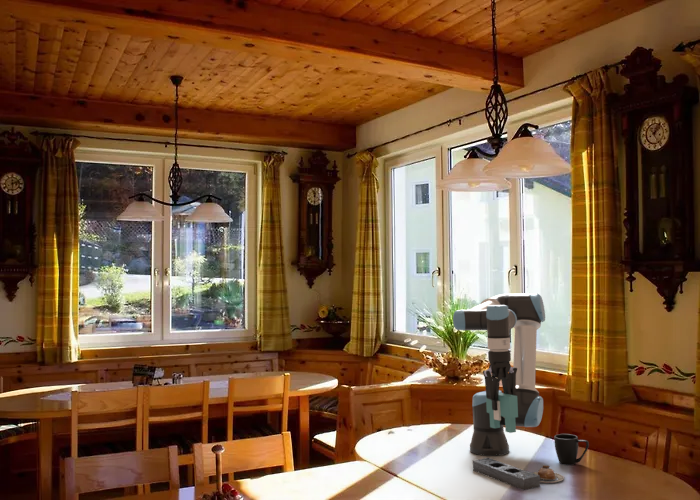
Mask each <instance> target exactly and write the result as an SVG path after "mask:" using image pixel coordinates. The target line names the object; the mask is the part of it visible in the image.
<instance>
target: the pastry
mask: <svg viewBox="0 0 700 500" xmlns="http://www.w3.org/2000/svg"><path fill="white" fill-rule="evenodd" d="M532 473H534V474H537V475H539V476H540V483H544V484H553V483H558V482H561V481H563V480H565V476H564V475H562V474H561V473H558V472H555V471H554V470H553V469H552V468H550V465H545V464H544V465H543V464H542V465H541V467H540V468H539V469H538V471H534V472H533V471H532ZM556 478H557V479H556Z"/></svg>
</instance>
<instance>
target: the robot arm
mask: <svg viewBox="0 0 700 500" xmlns="http://www.w3.org/2000/svg"><path fill="white" fill-rule="evenodd" d="M545 321H546V311H545V305H544V302H543V297H542V296H541V295H540V294H539V293H533V292H532V293H531V292H527V293H525V292H524V293H501V294H496V295H494V296H490V297H488V298H485V299H483V300H482V301H481V302H480V304H478V305H475V306H473V307H471V308H468V309H457V310H455V311H454V312H453V316H452V323H453V327H454V329H455V330H456V331H463V332H464V331H486V332H487V333H486V334H487V349H488V351H487V355H488V356H487V357H488V358H487V359H488V362H489V366H488V368H487V369H486V370H485V369H484V370H482V373H483V377H484V384H485V385H484V386H485V390H484V391H479V392H476V393H475V394H473V396H472V421H473V423H472V424H473V426H472V427H473V432H472V437H471V442H470V444H469V451H470V452H471V453H472V454H474V453H475V454H474V455H479V456H489V457H493V456H495V457H496V456H502V455H507V454H509V453H510V446H509V445H510V444H509V443H508V439H507V437H506V434H505V432H504V426H505V417H503V416H501V412H500V401H498V395H499V392H500V393H505V394H510V395H515V396H517V403H518V417H515V422H516V427H521V428H522V427H524V428H537V427H538V426H539V425H540V423H541V421H542V418H543V413H544V398H543V397H542V396H541V395H540V392H539V391H538V389H536V366H537V335H538V334H537V333H538V332H537V331H538V330H539V328H541V325H542V323H543V322H545ZM513 328H514V343H513V345H514V346H513V364H512V365H513V366H511V361H512V357H511V356H512V355H511V351H510V349H511V336H510V330H512V329H513ZM500 382H501V383H500ZM500 384H501V385H502V389H503V392H502V390H500ZM486 397H487V399H490V400H491V401H492V410H494V419H495V420H499V421H500V428H491V427H490V413H487V406H486Z"/></svg>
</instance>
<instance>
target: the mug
mask: <svg viewBox="0 0 700 500" xmlns="http://www.w3.org/2000/svg"><path fill="white" fill-rule="evenodd" d="M553 439H554V441H553V442H554V449H555V453H556V457H557V459H558V463H559V464H560V465H564V466H573V465H576V464H578V463H580V462H581V461H582V459H583V458H584V456H585V455H586V452H587V451H588V449H589V447H590V444H589V443H590V442H589V441H588V440H586V439H579V437H578V436H577V435H575V434H570V433H560V434H555V435H554V438H553ZM580 442H584V443H585V445H586V446H585V449H584V451H583V453H582V454H581V455H580V457H578V453H579V443H580Z"/></svg>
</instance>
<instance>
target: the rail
mask: <svg viewBox="0 0 700 500" xmlns="http://www.w3.org/2000/svg"><path fill="white" fill-rule="evenodd" d="M472 471H473V472H476V473H478V474H479V475H480V474H481V475H484V476H486V477H488V478H491V479H493V480H497V481H499V482H502V483H504V484H507V485H510V486H511V487H514V488H517V489H519V490H523V491H526V490H531V489H536V488H539V487H541V482H540V481H541V480H540V476H539V475H537V474H534V473H533V472H531V471H528V470H525V469H522V468H520V467H517V466H514V465H511V464H508V463H505V462H501V461H500V460H497V459H493V458H490V457H485V458H484V457H483V458H480V459H473V460H472Z"/></svg>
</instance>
